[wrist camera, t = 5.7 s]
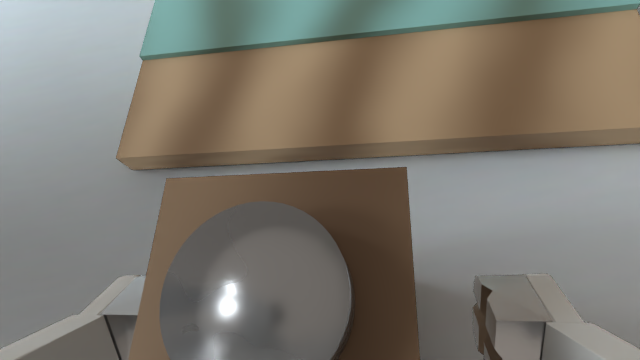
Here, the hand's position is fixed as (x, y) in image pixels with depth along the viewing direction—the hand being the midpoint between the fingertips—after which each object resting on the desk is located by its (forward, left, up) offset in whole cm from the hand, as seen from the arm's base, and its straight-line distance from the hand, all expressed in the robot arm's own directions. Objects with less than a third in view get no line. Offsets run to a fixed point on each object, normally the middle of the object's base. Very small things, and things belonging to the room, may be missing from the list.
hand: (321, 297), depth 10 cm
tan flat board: (+1, +14, -5) cm, 15 cm away
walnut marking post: (0, -1, -5) cm, 5 cm away
